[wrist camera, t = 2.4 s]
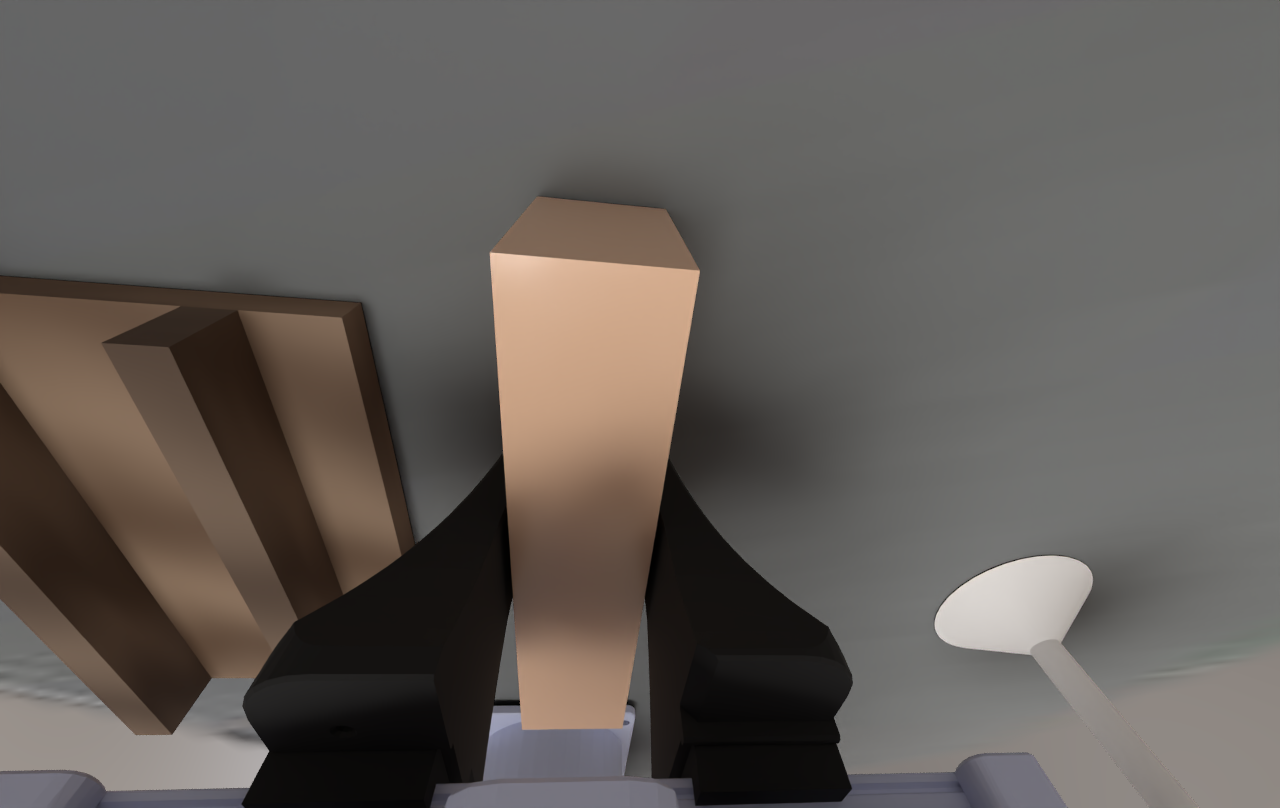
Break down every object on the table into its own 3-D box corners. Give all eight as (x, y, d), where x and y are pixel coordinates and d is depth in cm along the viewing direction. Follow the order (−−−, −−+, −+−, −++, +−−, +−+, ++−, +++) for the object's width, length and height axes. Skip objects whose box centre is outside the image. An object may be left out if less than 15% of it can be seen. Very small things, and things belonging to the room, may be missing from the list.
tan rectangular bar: (619, 586, 18) (622, 728, 14) (542, 585, 18) (521, 729, 14) (665, 209, 11) (700, 270, 7) (537, 196, 11) (490, 252, 7)
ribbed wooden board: (439, 654, 20) (414, 731, 18) (136, 652, 19) (64, 735, 17) (361, 303, 12) (293, 354, 9) (-188, 262, 11) (-434, 309, 8)
